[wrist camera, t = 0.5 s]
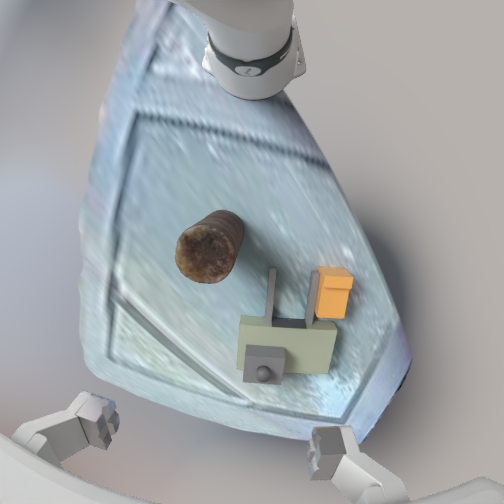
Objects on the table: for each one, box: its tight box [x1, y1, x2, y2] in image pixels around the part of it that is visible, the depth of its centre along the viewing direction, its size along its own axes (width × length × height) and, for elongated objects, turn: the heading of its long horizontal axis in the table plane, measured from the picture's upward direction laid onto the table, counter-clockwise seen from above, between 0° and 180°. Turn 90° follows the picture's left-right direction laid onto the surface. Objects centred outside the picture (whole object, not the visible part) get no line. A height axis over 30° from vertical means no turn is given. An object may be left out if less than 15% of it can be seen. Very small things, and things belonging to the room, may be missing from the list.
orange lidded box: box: [314, 266, 353, 319], centre depth 51 cm, size 8×5×6 cm, turn 176°
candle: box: [175, 210, 244, 284], centre depth 43 cm, size 8×7×20 cm
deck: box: [237, 267, 337, 385], centre depth 51 cm, size 20×18×10 cm
